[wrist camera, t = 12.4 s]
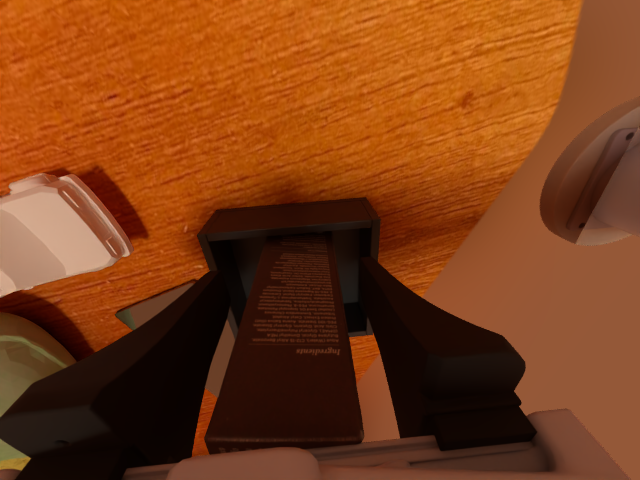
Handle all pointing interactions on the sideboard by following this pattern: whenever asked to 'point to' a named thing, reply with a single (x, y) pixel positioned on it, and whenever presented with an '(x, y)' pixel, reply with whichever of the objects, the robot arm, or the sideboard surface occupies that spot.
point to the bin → (259, 222)
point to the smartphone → (156, 304)
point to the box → (290, 356)
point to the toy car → (55, 232)
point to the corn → (24, 369)
